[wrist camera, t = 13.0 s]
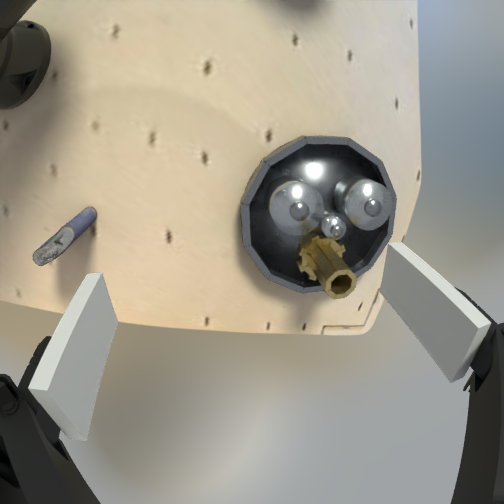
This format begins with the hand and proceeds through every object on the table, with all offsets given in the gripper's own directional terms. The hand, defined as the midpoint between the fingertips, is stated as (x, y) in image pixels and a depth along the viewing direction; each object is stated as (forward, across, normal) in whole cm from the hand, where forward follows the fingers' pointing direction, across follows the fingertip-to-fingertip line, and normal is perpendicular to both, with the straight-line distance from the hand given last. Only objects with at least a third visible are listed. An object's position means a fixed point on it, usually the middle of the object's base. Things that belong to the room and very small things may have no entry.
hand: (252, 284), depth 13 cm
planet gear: (+30, +14, -15) cm, 36 cm away
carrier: (+31, +14, -8) cm, 35 cm away
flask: (+32, -24, -7) cm, 40 cm away
